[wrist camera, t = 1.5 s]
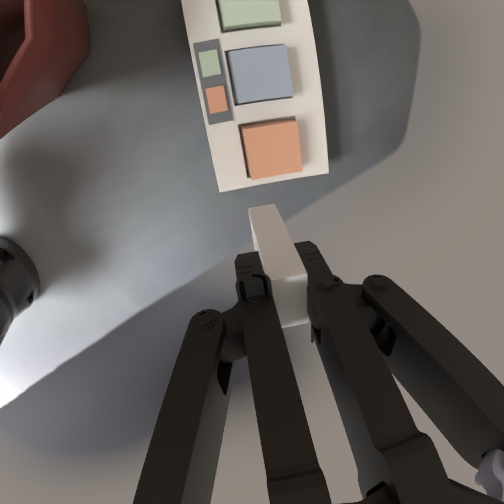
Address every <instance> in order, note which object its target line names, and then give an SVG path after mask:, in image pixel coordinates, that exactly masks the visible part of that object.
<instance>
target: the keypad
mask: <svg viewBox="0 0 504 504" xmlns="http://www.w3.org/2000/svg"><path fill="white" fill-rule="evenodd" d="M181 2H182V8H183V14H184V19H185V24H186V30H187V35H188V40H189V46H190V51H191V56H192V61H193V66H194V72H195V77H196V82H197V87H198V92H199V97H200V102H201V107H202V111H203V116H204V121H205V126H206V131H207V136H208V140H209V145H210V150H211V155H212V159H213V164H214V169H215V173H216V178H217V183H218V187H219V192H225V191H230V190H235V189H240V188H245V187H250V186H255V185H261V184H266V183H271V182H277V181H283V180H288V179H294V178H300V177H306V176H313V175H319V174H326V173H329V169H328V154H327V141H326V129H325V118H324V108H323V99H322V90H321V82H320V74H319V67H318V60H317V53H316V47H315V40H314V34H313V28H312V23H311V17H310V12H309V7H308V2H307V0H278V3H279V9H280V14H281V19H282V21H281V22H279V23H278V24H277V25H266V26H256V27H247V28H239V29H232V30H225V31H224V28H223V23H222V18H221V13H220V7H219V2H218V0H181ZM279 45H286V47H287V54H288V60H289V66H290V73H291V80H292V86H293V94H294V96H288V97H279V98H272V99H264V100H257V101H251V102H244V103H237V100H236V94H235V89H234V83H233V77H232V72H231V66H230V61H229V55H228V53H229V52H230V51H235V50H242V49H250V48H258V47H268V46H279ZM286 119H293V120H295V121H297V125H298V133H299V142H300V151H301V161H302V171H301V172H294V173H288V174H283V175H277V176H271V177H266V178H260V179H255V180H252V179H251V176H250V174H249V168H248V163H247V157H246V151H245V145H244V139H243V134H242V128H241V126H247V125H253V124H259V123H265V122H272V121H279V120H286Z"/></svg>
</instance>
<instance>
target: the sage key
mask: <svg viewBox="0 0 504 504" xmlns="http://www.w3.org/2000/svg"><path fill="white" fill-rule="evenodd" d="M218 2H219V7H220V13H221V18H222V23H223V28H224V31H225V30H232V29H239V28H247V27H256V26H266V25H277V24H278V23H279V22H281V21H282V19H281V14H280V9H279V3H278V0H218Z"/></svg>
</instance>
